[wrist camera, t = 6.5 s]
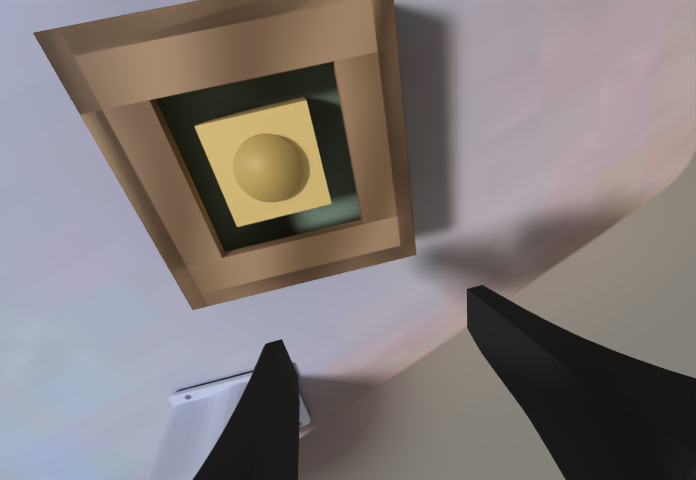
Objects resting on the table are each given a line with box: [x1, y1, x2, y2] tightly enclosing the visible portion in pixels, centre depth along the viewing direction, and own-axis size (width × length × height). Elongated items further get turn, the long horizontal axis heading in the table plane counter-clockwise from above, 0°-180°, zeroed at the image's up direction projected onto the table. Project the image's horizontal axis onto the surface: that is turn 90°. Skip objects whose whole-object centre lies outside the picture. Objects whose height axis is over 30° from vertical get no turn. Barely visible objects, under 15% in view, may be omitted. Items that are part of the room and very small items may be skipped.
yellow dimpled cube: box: [194, 97, 331, 227], centre depth 14 cm, size 4×4×4 cm
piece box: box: [33, 0, 416, 310], centre depth 15 cm, size 12×12×4 cm
